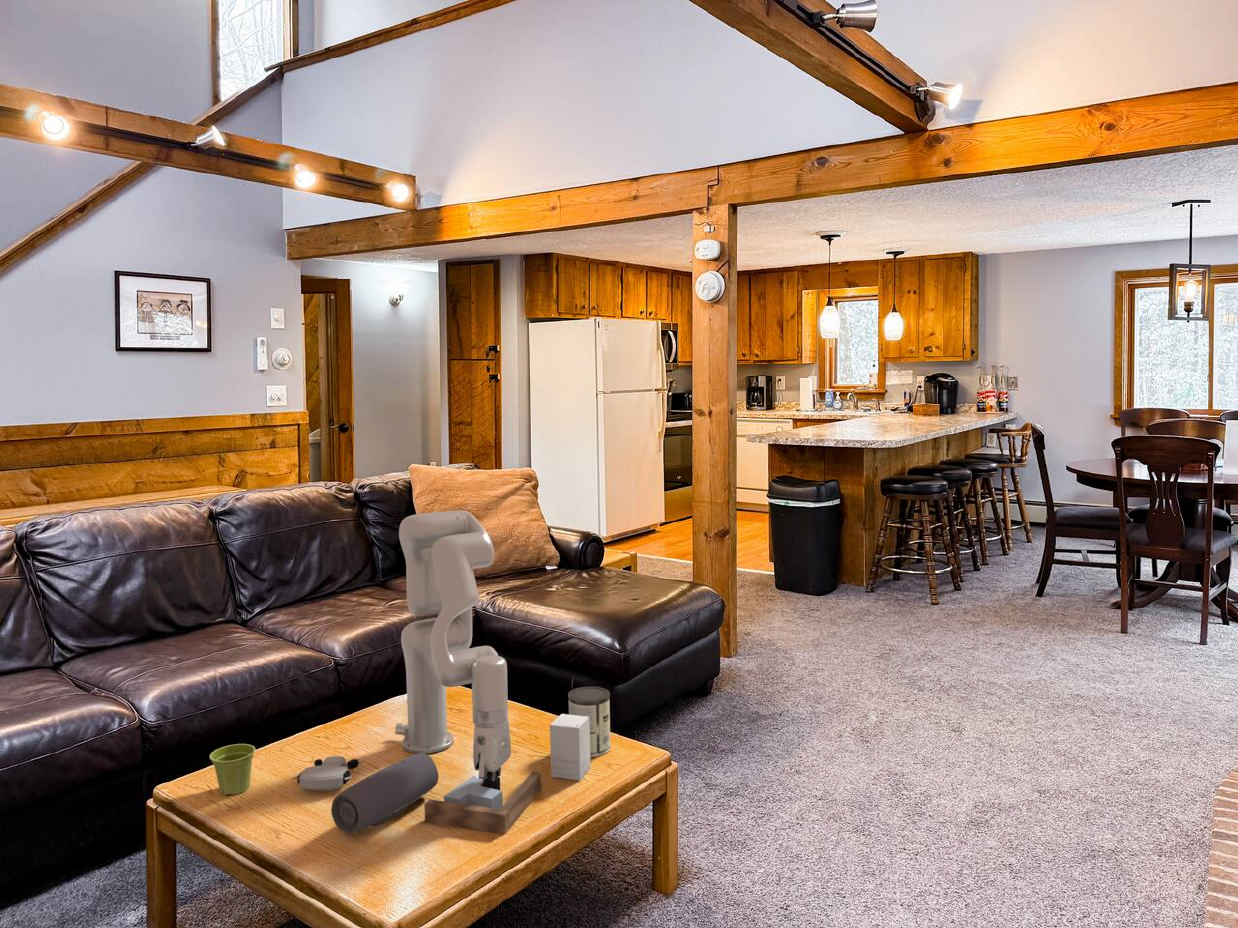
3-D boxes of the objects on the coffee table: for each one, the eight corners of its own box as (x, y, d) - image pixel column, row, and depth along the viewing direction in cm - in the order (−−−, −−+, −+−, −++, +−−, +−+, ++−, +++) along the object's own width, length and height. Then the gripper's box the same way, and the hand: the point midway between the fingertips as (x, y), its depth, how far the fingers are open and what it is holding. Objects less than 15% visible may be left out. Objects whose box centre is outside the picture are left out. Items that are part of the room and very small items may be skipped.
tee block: (444, 813, 191) (443, 795, 190) (472, 793, 200) (472, 776, 199) (483, 823, 186) (483, 804, 186) (510, 802, 195) (510, 785, 195)
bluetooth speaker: (409, 789, 202) (408, 746, 201) (441, 798, 197) (439, 754, 196) (329, 833, 183) (327, 786, 182) (362, 845, 178) (360, 797, 177)
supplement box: (591, 768, 212) (590, 716, 211) (579, 781, 205) (579, 727, 204) (562, 764, 214) (561, 712, 213) (549, 777, 208) (549, 724, 206)
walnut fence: (424, 821, 187) (424, 803, 187) (467, 780, 206) (467, 763, 206) (505, 833, 182) (504, 814, 182) (541, 789, 201) (540, 772, 201)
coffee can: (572, 739, 229) (571, 685, 227) (612, 740, 228) (612, 686, 226) (565, 756, 219) (564, 700, 217) (608, 758, 218) (607, 701, 216)
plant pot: (223, 803, 196) (220, 764, 195) (204, 790, 202) (202, 752, 201) (264, 788, 203) (262, 751, 202) (245, 776, 209) (243, 740, 208)
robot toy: (313, 771, 214) (289, 796, 199) (313, 752, 213) (289, 776, 198) (365, 771, 213) (345, 796, 198) (365, 752, 213) (345, 776, 198)
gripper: (492, 728, 186) (493, 813, 188) (519, 703, 201) (521, 782, 202) (458, 725, 188) (461, 809, 190) (488, 700, 203) (490, 778, 204)
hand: (492, 795), depth 196 cm, fingers closed
